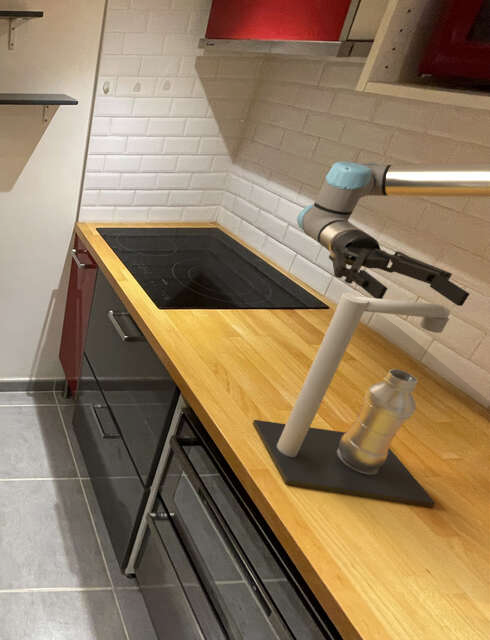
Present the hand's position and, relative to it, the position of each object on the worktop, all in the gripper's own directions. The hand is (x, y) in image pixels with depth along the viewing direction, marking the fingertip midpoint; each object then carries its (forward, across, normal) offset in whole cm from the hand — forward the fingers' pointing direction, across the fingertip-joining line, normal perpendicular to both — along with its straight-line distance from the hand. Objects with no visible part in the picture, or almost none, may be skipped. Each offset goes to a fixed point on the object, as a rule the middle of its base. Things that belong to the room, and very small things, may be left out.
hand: (422, 297), depth 83 cm
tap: (+15, +14, -28) cm, 35 cm away
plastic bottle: (+15, +10, -27) cm, 33 cm away
